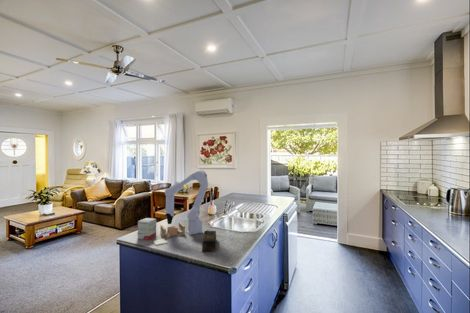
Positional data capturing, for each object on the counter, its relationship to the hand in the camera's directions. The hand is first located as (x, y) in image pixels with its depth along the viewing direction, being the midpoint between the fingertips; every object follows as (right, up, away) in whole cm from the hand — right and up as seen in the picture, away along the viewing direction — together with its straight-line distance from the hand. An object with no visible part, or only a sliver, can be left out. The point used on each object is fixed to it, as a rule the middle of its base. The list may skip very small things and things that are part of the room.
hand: (169, 223), depth 160 cm
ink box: (-11, -6, -12) cm, 18 cm away
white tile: (0, -6, -20) cm, 21 cm away
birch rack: (+4, -6, -6) cm, 9 cm away
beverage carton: (+31, -7, -24) cm, 40 cm away
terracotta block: (+4, -6, -6) cm, 9 cm away
